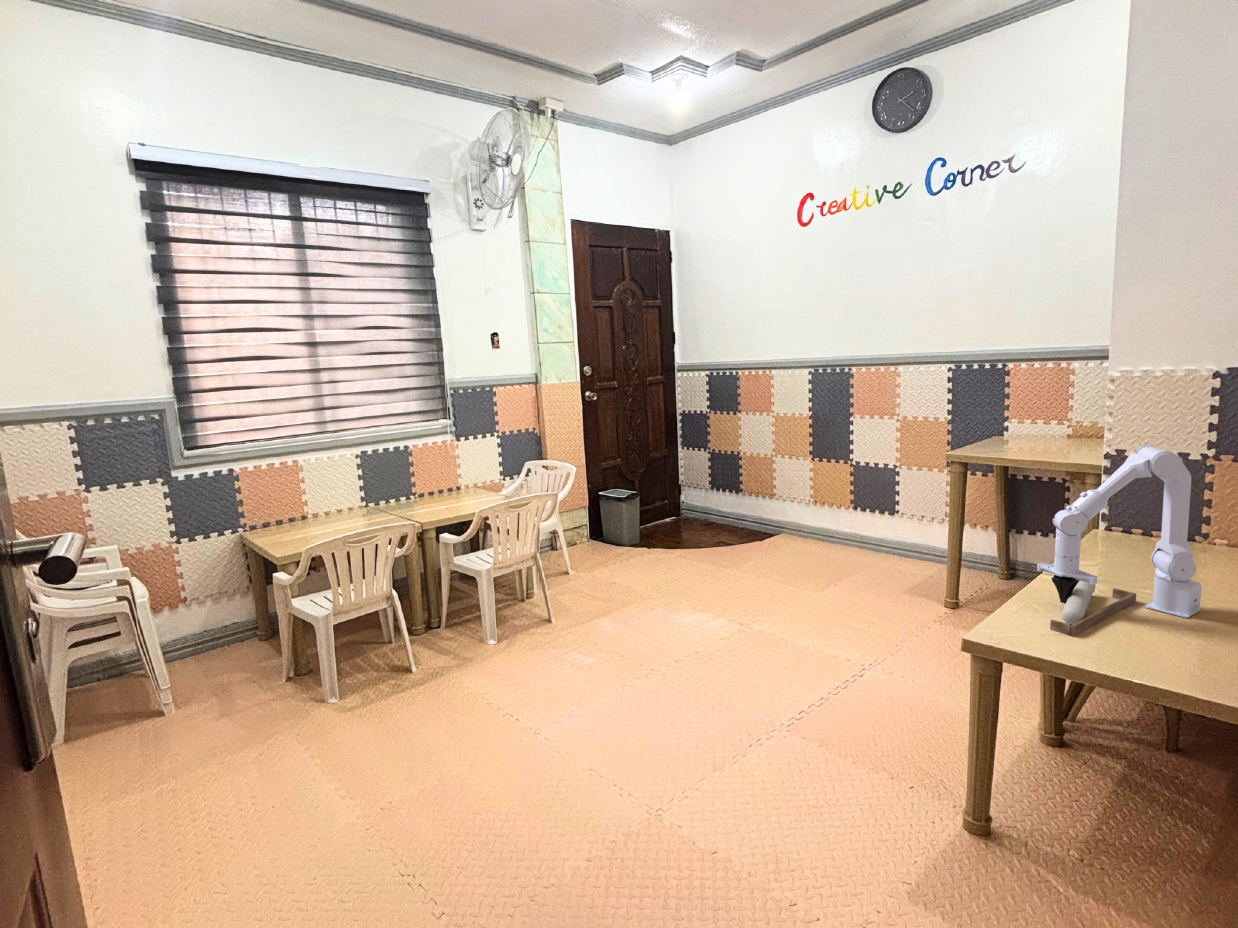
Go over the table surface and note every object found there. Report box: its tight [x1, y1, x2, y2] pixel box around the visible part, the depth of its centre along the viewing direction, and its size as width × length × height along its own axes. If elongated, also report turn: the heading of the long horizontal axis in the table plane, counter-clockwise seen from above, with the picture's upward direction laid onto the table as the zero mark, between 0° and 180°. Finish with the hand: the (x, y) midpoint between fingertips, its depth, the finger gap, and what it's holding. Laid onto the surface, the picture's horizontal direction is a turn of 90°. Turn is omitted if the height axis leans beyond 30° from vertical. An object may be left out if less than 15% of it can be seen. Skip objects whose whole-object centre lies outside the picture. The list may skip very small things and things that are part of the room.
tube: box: [1061, 581, 1097, 625], centre depth 190 cm, size 5×5×25 cm
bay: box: [1049, 587, 1137, 637], centre depth 186 cm, size 5×33×2 cm, turn 121°
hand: (1064, 601), depth 192 cm, fingers closed
